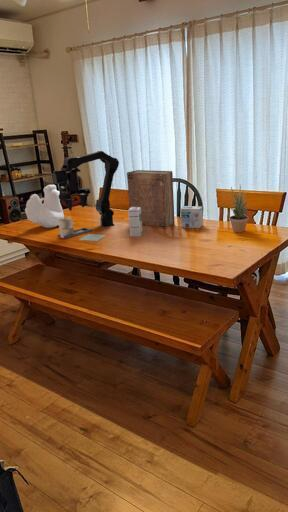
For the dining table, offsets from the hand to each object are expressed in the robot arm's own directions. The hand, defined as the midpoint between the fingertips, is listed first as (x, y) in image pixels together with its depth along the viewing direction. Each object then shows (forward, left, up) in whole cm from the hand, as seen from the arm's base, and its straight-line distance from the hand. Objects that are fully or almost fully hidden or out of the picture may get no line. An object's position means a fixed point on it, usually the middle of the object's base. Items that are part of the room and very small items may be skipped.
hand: (76, 209), depth 227 cm
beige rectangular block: (+9, +6, -13) cm, 17 cm away
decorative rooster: (+13, -24, -13) cm, 30 cm away
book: (-40, +13, -13) cm, 44 cm away
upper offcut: (+1, +4, -13) cm, 14 cm away
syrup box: (-22, +28, -13) cm, 38 cm away
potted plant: (-67, +57, -13) cm, 89 cm away
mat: (-1, +18, -13) cm, 22 cm away
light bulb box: (-54, +33, -13) cm, 65 cm away
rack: (+4, +5, -13) cm, 14 cm away
